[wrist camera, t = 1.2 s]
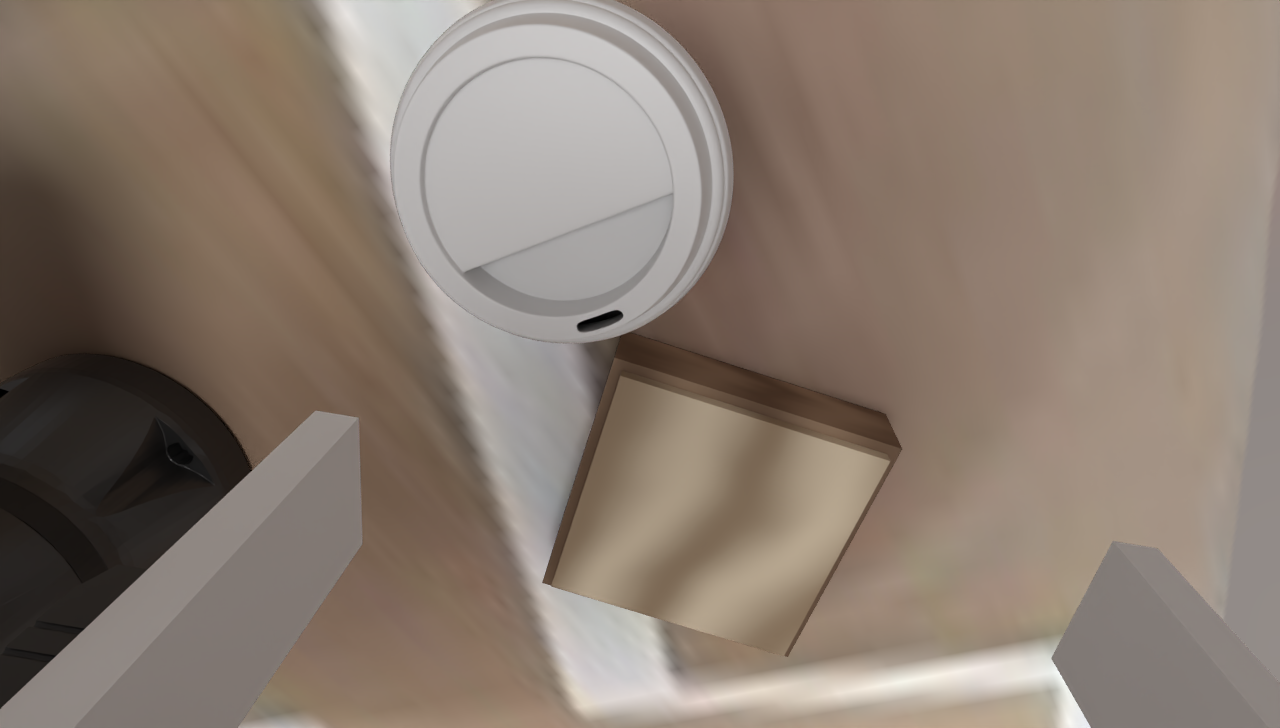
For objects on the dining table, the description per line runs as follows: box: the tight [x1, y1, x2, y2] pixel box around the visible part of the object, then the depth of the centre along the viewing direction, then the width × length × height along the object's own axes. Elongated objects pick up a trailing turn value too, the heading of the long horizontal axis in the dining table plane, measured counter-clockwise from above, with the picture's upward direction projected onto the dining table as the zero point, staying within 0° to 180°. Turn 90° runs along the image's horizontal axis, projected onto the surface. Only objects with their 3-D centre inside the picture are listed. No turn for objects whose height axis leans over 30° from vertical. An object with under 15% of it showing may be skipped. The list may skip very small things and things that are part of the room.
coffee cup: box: [390, 0, 734, 343], centre depth 25 cm, size 10×10×15 cm
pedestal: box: [542, 332, 902, 657], centre depth 37 cm, size 14×14×4 cm
